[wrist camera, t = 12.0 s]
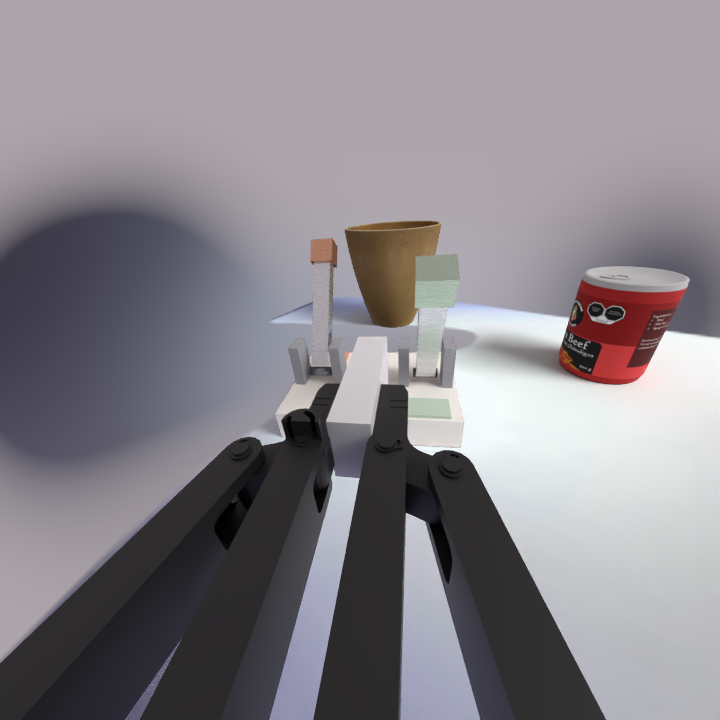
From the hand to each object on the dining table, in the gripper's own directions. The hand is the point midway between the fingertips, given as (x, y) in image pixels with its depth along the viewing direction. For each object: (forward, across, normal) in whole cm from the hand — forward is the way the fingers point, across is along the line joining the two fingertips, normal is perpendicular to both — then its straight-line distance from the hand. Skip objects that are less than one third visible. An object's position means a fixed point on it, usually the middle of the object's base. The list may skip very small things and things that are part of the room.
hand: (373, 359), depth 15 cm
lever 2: (+12, +3, -8) cm, 15 cm away
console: (+12, -2, -12) cm, 17 cm away
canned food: (+20, +24, -12) cm, 33 cm away
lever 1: (+12, -8, -8) cm, 16 cm away
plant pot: (+36, -1, -12) cm, 38 cm away
